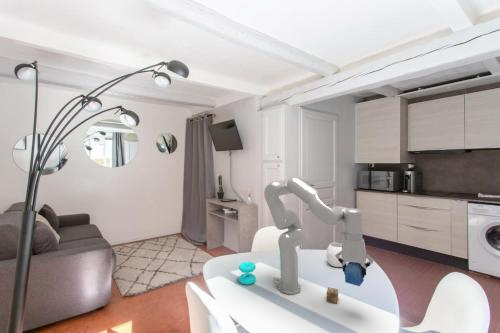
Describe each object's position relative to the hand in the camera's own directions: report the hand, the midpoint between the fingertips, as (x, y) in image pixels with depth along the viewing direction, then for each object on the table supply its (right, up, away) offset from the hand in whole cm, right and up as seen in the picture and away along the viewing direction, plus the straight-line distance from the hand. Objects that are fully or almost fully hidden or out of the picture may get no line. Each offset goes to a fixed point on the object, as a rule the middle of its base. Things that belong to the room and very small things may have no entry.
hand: (354, 274), depth 112 cm
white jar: (+11, -17, +53) cm, 56 cm away
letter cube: (-6, -18, +12) cm, 22 cm away
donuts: (-49, -19, +33) cm, 62 cm away
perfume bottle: (0, -3, 0) cm, 3 cm away
